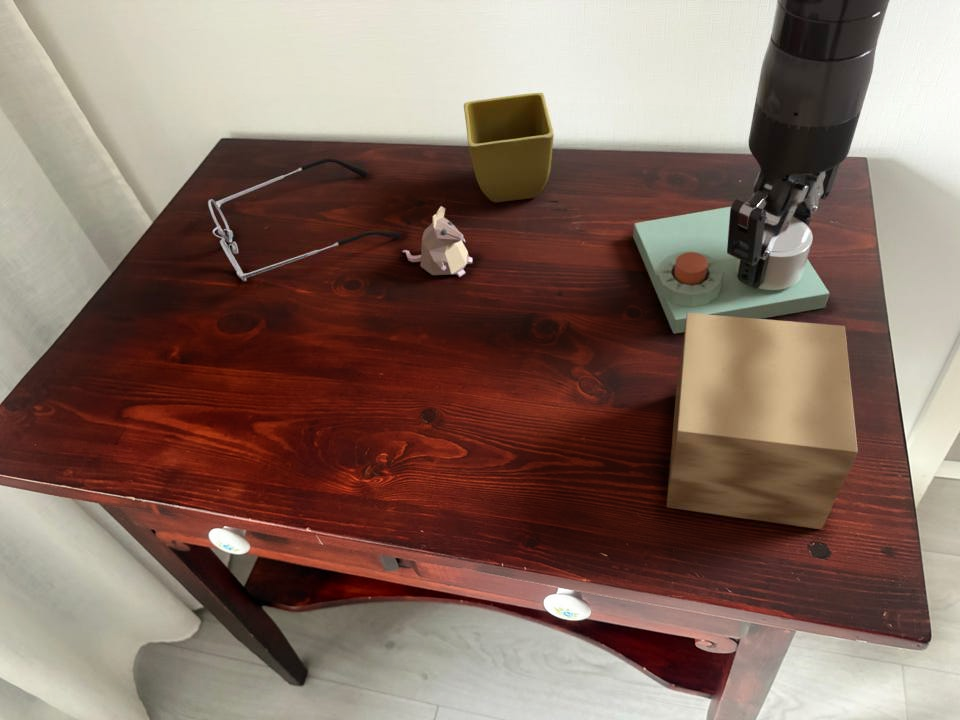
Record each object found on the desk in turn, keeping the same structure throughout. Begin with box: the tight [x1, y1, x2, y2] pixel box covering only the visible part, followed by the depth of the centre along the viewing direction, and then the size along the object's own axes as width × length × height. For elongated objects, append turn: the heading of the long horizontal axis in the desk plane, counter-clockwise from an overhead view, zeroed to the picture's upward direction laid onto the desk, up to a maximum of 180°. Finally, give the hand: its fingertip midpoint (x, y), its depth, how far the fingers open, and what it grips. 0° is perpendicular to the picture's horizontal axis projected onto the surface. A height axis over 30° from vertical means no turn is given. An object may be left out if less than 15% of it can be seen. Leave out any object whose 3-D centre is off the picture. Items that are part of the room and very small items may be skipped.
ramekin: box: [735, 213, 814, 290], centre depth 68 cm, size 6×6×4 cm
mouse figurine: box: [402, 205, 473, 278], centre depth 76 cm, size 5×8×7 cm, turn 64°
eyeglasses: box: [207, 158, 404, 283], centre depth 82 cm, size 16×19×5 cm
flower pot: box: [463, 92, 555, 203], centre depth 82 cm, size 9×9×9 cm
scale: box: [632, 206, 830, 335], centre depth 72 cm, size 14×14×4 cm
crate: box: [666, 313, 859, 530], centre depth 55 cm, size 11×11×10 cm
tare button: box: [674, 252, 708, 285], centre depth 68 cm, size 3×3×2 cm
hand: (770, 262), depth 69 cm, fingers closed on ramekin, 6 cm apart
